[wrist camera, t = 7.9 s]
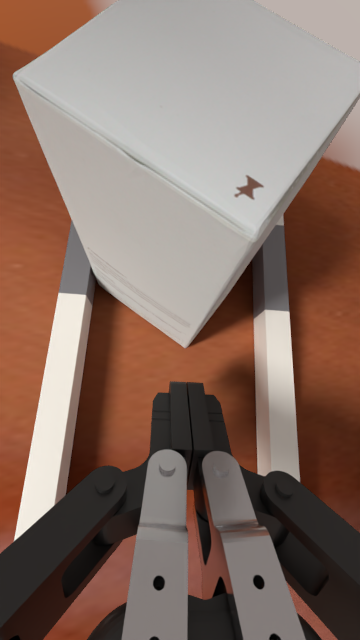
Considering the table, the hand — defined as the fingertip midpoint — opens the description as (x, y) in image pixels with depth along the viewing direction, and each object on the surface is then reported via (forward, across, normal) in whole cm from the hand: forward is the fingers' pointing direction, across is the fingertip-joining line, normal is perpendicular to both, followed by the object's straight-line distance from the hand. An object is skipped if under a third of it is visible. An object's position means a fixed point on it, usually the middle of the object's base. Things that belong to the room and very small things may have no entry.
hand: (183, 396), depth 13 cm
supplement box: (+9, 0, -3) cm, 9 cm away
